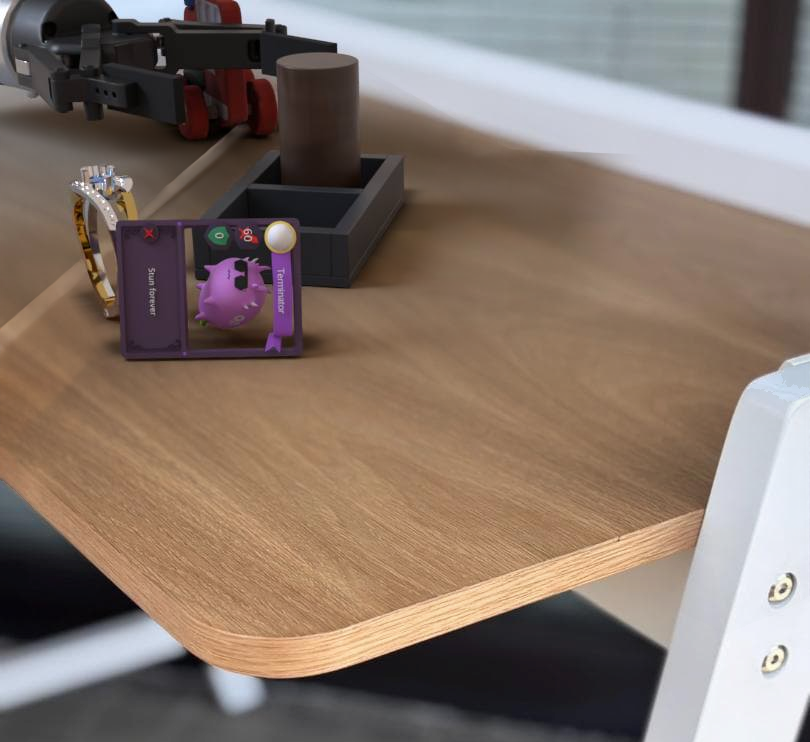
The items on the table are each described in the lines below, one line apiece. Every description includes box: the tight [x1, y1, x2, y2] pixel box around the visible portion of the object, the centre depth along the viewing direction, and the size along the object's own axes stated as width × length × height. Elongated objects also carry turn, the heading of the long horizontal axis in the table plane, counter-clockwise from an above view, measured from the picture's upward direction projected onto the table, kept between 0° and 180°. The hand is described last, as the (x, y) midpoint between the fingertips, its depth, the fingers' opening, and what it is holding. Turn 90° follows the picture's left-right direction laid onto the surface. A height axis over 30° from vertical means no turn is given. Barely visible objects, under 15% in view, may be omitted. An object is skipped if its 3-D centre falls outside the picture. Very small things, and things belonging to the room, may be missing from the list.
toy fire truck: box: [176, 0, 279, 140], centre depth 113 cm, size 7×12×10 cm, turn 21°
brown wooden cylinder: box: [276, 52, 361, 189], centre depth 93 cm, size 5×5×9 cm
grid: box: [191, 149, 405, 289], centre depth 91 cm, size 9×17×3 cm, turn 170°
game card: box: [116, 218, 304, 360], centre depth 76 cm, size 7×5×9 cm
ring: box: [66, 163, 139, 319], centre depth 78 cm, size 7×3×8 cm, turn 24°
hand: (260, 82), depth 94 cm, fingers open, 13 cm apart
